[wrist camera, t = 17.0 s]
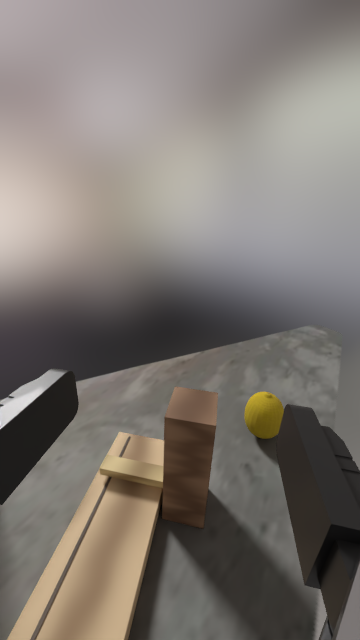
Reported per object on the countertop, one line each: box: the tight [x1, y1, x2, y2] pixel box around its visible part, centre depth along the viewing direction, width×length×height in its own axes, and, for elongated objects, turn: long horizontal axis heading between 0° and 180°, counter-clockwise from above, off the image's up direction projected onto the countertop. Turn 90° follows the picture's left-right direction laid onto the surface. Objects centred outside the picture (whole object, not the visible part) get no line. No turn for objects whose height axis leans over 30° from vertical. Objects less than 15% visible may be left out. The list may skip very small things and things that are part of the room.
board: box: [7, 432, 164, 640], centre depth 22 cm, size 8×26×2 cm, turn 170°
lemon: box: [245, 392, 284, 439], centre depth 36 cm, size 6×6×8 cm
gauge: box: [100, 387, 218, 529], centre depth 26 cm, size 12×4×14 cm, turn 80°
